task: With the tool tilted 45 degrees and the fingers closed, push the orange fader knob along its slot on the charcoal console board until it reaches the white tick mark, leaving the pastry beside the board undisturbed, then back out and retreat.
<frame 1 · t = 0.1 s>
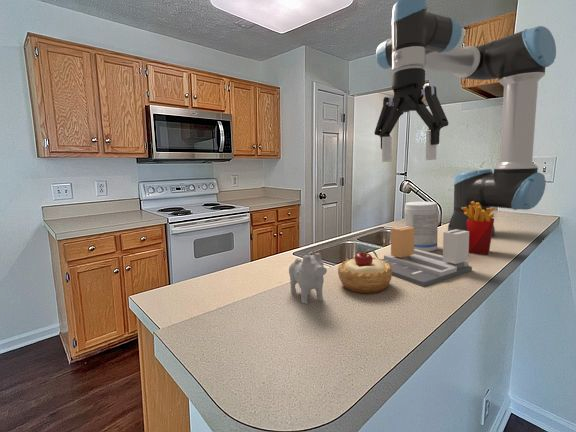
hand: (407, 161, 80), 28 cm above the countertop, tool pointing down, fingers open, 13 cm apart
console board: (417, 268, 84), on the countertop
pastry: (364, 286, 74), on the countertop
french fries: (474, 252, 96), on the countertop
supplement tub: (420, 249, 102), on the countertop
fader knob: (402, 243, 88), point 6 cm above the countertop, slide at -5.0 cm
dog figurine: (309, 298, 70), on the countertop
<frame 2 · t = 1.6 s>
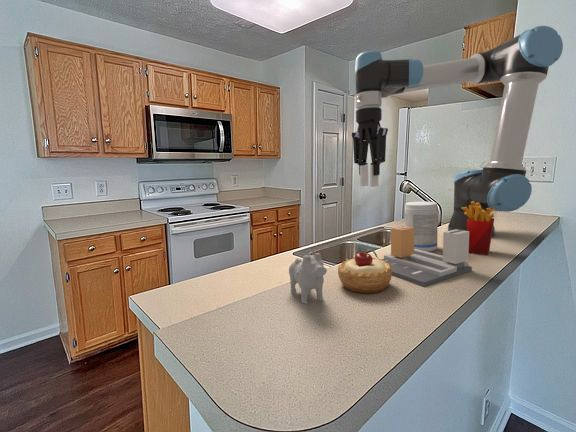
hand: (369, 186, 101), 21 cm above the countertop, tool pointing down, fingers open, 4 cm apart
nothing on the countertop moved.
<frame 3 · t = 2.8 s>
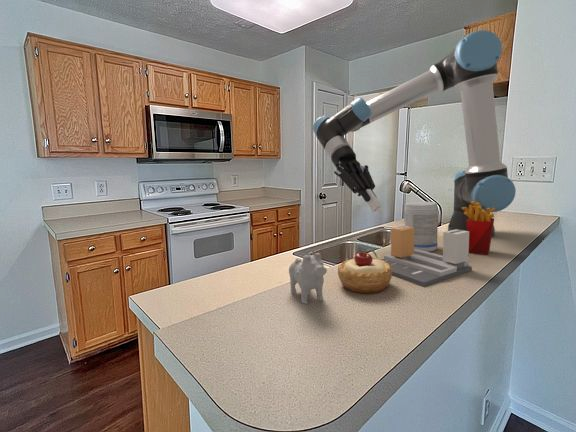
hand: (377, 208, 95), 14 cm above the countertop, tool tilted 45°, fingers closed
nothing on the countertop moved.
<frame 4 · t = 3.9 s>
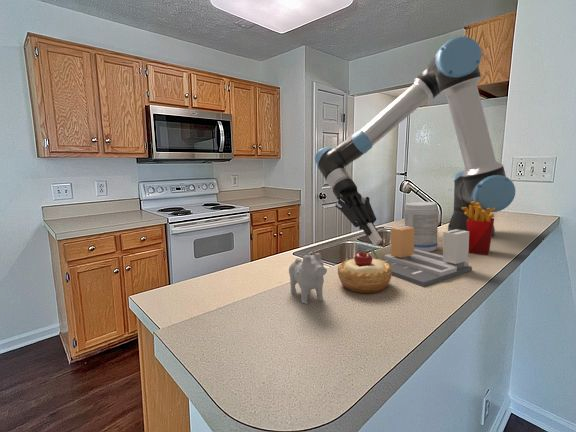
hand: (378, 242, 96), 4 cm above the countertop, tool tilted 45°, fingers closed
nothing on the countertop moved.
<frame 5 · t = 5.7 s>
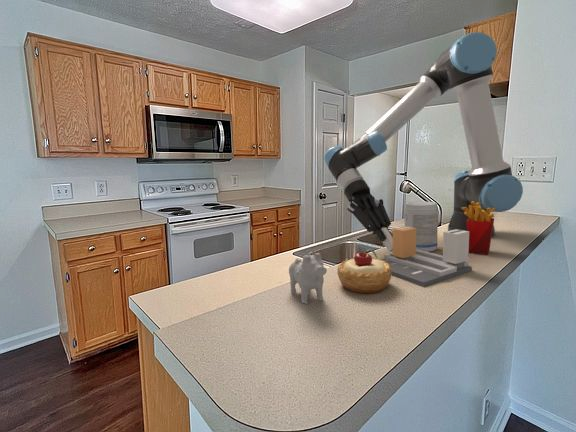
hand: (393, 249, 90), 4 cm above the countertop, tool tilted 45°, fingers closed
fader knob: (404, 244, 87), point 6 cm above the countertop, slide at -4.4 cm, touching gripper
everything else where it was.
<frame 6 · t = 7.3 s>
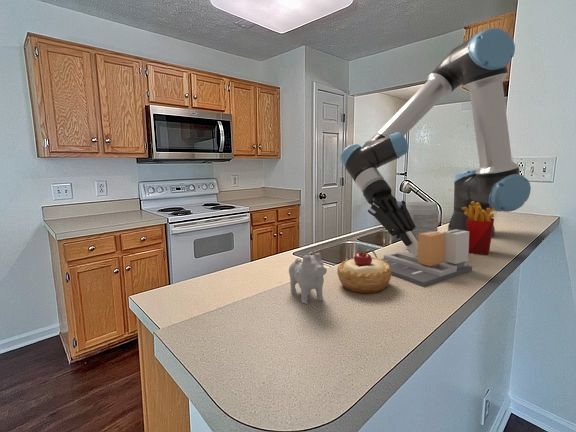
hand: (419, 254, 83), 4 cm above the countertop, tool tilted 45°, fingers closed
fader knob: (430, 250, 80), point 6 cm above the countertop, slide at 3.9 cm
everything else where it was.
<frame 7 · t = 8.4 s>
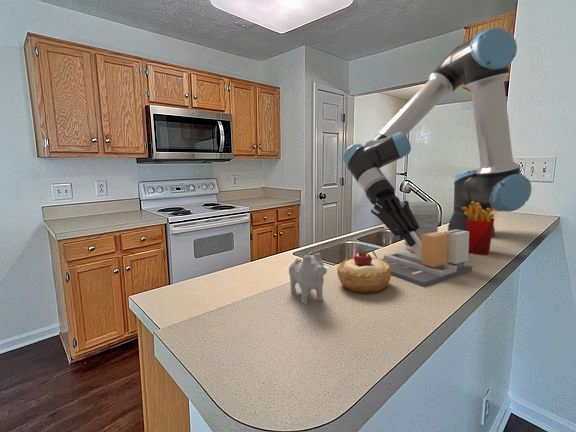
hand: (423, 255, 82), 4 cm above the countertop, tool tilted 45°, fingers closed
fader knob: (434, 251, 79), point 6 cm above the countertop, slide at 4.9 cm
everything else where it was.
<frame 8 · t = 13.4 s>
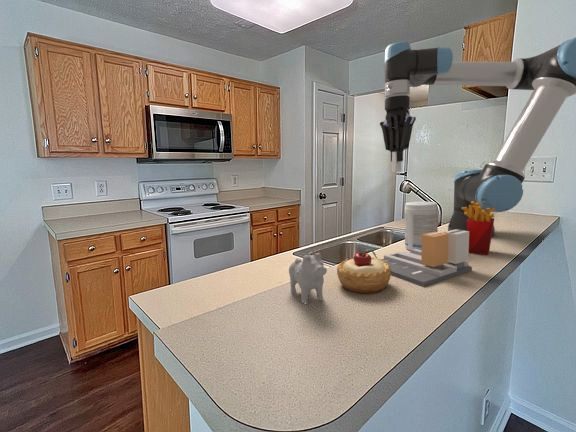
hand: (396, 171, 106), 24 cm above the countertop, tool pointing down, fingers closed
nothing on the countertop moved.
at the end: fader knob slide at 4.9 cm; the gripper is holding nothing; pastry moved 0.4 cm from its start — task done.
